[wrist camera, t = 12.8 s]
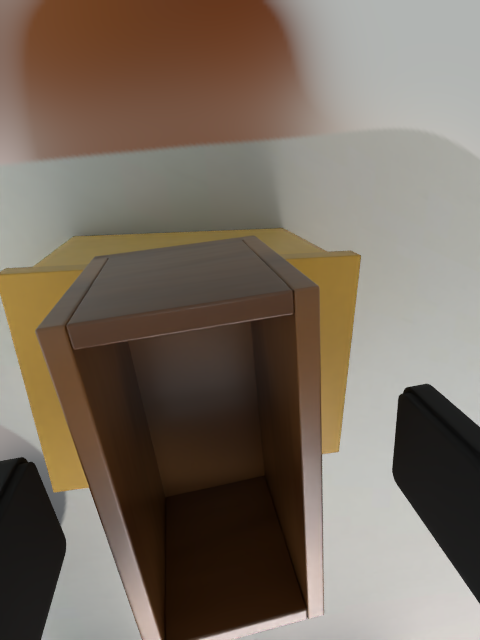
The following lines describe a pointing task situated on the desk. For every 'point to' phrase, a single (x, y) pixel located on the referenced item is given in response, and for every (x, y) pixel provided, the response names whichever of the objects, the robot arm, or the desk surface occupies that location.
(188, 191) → the desk surface
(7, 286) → the box
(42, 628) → the robot arm
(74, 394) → the wooden cubby shelf
